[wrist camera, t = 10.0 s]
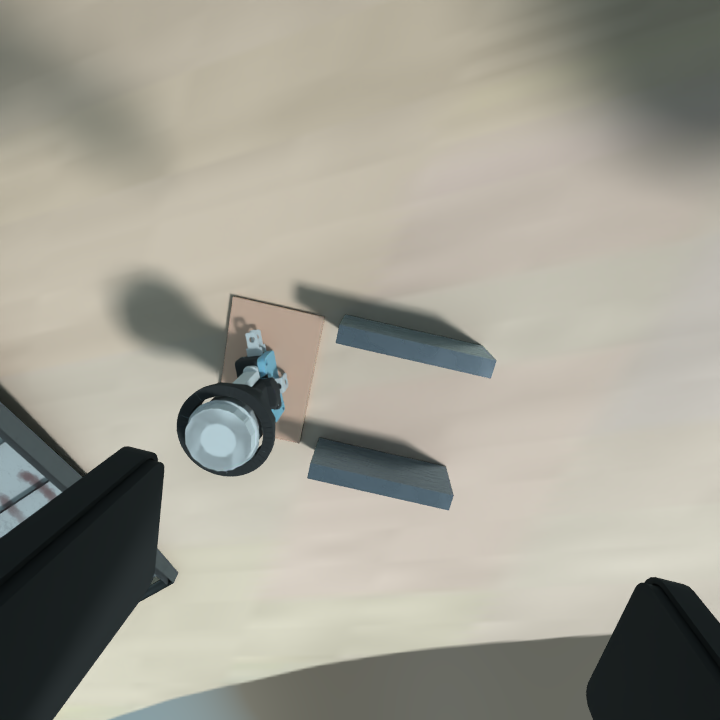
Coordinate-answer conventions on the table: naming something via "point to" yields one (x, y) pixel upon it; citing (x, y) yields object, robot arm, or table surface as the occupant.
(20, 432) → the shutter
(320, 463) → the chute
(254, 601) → the table surface
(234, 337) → the mat
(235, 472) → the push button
